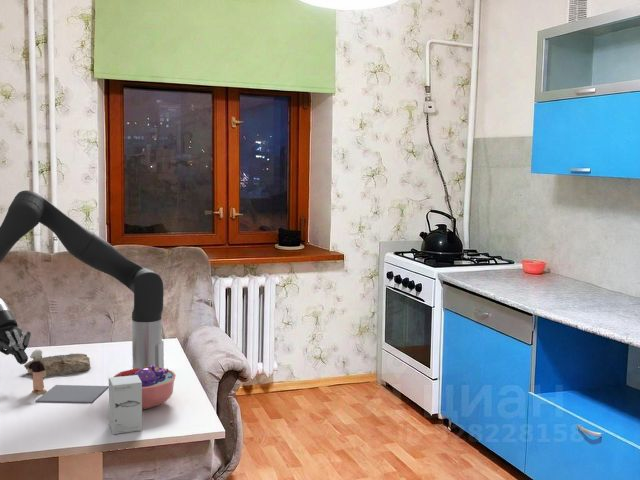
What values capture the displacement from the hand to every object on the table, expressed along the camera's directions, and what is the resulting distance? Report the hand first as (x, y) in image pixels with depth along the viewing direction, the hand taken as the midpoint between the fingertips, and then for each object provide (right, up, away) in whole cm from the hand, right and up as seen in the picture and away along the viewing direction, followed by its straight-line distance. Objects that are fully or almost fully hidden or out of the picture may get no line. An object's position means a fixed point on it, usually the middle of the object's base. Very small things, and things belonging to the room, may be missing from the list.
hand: (24, 362), depth 199 cm
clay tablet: (+2, -7, +20) cm, 21 cm away
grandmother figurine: (+5, -8, -2) cm, 10 cm away
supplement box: (+38, -11, -29) cm, 49 cm away
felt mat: (+16, -8, -4) cm, 19 cm away
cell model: (+39, -10, -12) cm, 42 cm away
